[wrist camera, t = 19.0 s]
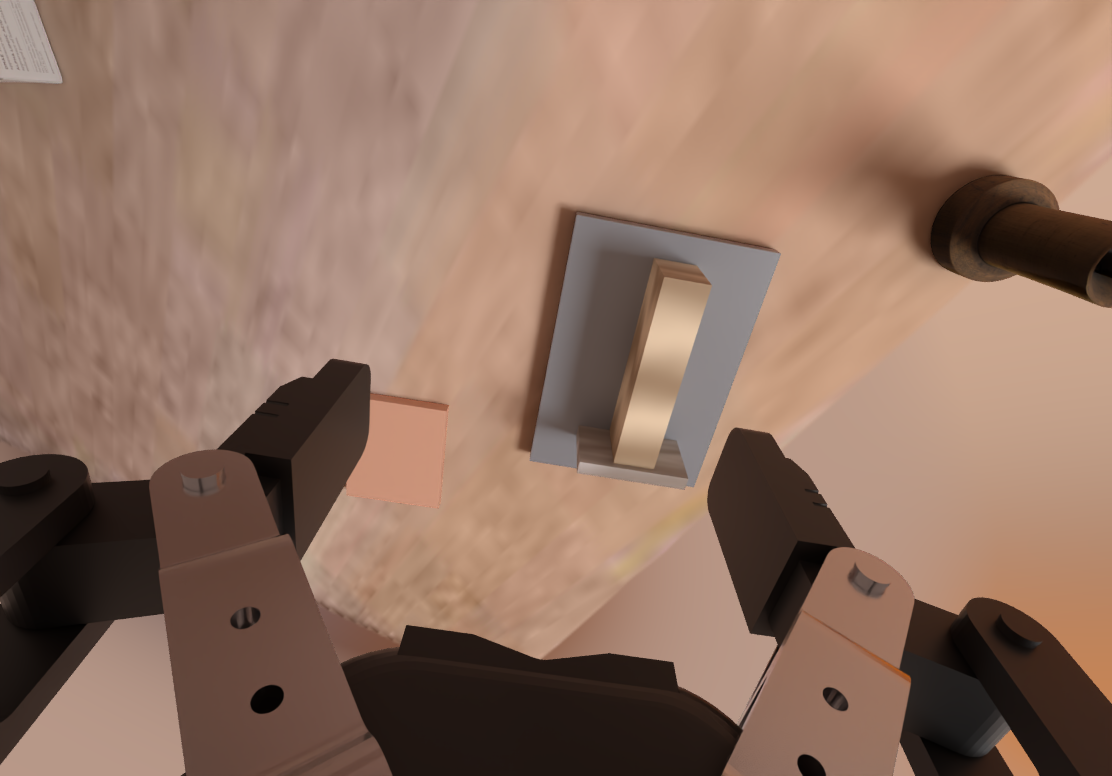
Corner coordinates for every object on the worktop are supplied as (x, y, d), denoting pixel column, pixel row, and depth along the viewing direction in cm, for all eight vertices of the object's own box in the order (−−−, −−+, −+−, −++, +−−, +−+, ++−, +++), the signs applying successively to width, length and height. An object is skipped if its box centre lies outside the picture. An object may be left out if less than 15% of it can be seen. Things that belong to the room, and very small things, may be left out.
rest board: (576, 211, 37) (576, 214, 36) (775, 249, 38) (780, 253, 37) (530, 452, 46) (529, 460, 45) (690, 478, 47) (693, 487, 46)
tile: (345, 395, 43) (346, 495, 48) (446, 411, 44) (438, 508, 48) (351, 387, 44) (352, 485, 49) (450, 402, 45) (441, 497, 49)
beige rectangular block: (618, 251, 37) (624, 271, 33) (732, 272, 38) (754, 295, 33) (576, 435, 44) (577, 473, 40) (673, 450, 44) (684, 489, 40)
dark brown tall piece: (1054, 183, 36) (1447, 251, 20) (1002, 279, 39) (1306, 406, 23) (957, 167, 35) (1276, 222, 19) (912, 265, 38) (1156, 383, 22)
